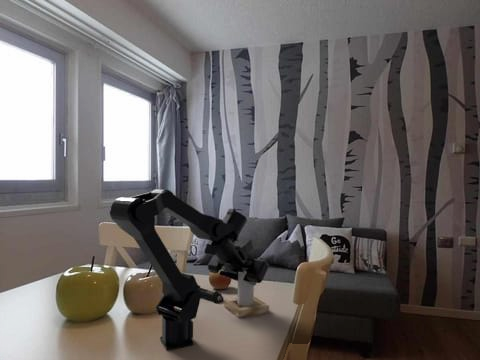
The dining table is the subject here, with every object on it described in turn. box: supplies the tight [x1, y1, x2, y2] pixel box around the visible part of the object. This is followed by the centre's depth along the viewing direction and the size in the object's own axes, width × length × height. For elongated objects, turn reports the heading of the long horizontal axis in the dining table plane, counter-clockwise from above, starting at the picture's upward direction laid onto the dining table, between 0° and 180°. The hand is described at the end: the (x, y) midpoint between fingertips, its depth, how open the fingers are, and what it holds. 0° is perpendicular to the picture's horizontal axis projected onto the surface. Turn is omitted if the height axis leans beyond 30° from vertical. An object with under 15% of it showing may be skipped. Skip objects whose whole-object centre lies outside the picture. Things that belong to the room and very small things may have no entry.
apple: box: [208, 270, 232, 290], centre depth 128 cm, size 8×8×8 cm
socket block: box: [223, 295, 270, 319], centre depth 108 cm, size 10×10×2 cm
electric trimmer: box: [199, 287, 225, 304], centre depth 119 cm, size 4×16×3 cm, turn 50°
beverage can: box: [237, 270, 255, 308], centre depth 108 cm, size 5×5×12 cm
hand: (248, 282), depth 109 cm, fingers closed on beverage can, 5 cm apart
